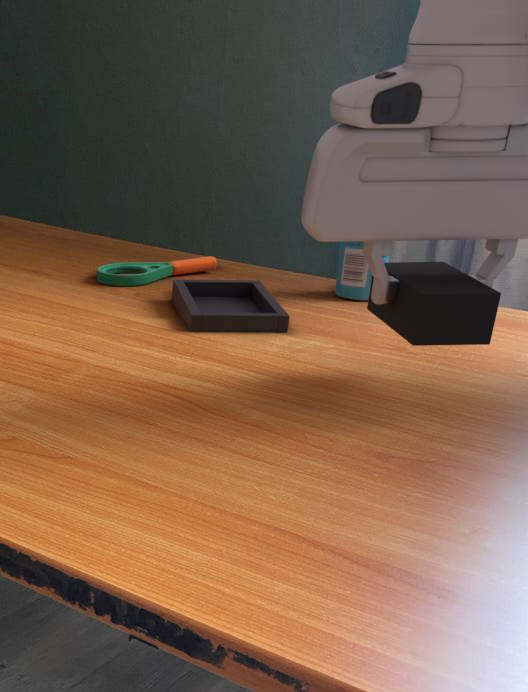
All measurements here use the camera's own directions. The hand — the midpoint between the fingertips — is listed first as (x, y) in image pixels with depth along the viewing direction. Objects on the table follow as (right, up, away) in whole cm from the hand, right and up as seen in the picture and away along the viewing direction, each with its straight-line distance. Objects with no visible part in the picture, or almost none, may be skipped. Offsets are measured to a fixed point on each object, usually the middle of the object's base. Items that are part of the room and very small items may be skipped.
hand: (428, 302), depth 75 cm
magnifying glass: (-16, +16, +40) cm, 46 cm away
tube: (+5, +12, +33) cm, 36 cm away
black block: (0, -2, +1) cm, 2 cm away
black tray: (-11, +7, +25) cm, 28 cm away
